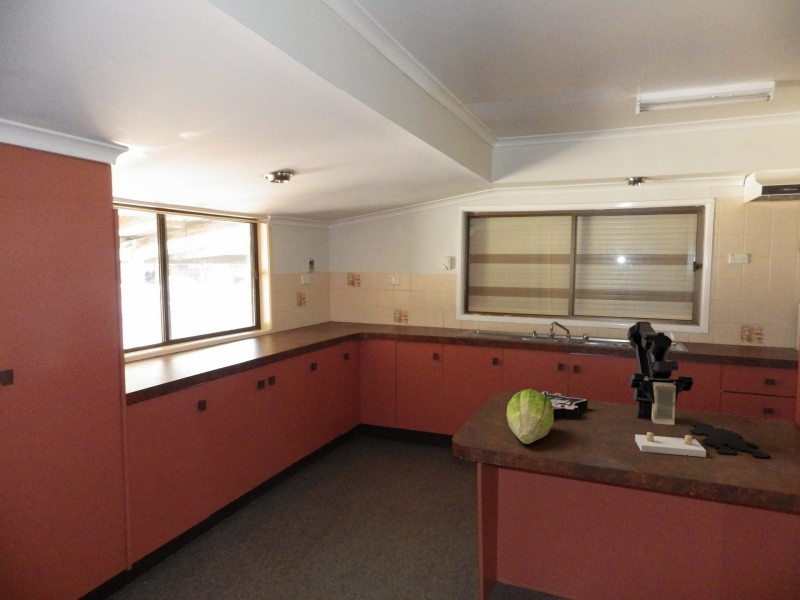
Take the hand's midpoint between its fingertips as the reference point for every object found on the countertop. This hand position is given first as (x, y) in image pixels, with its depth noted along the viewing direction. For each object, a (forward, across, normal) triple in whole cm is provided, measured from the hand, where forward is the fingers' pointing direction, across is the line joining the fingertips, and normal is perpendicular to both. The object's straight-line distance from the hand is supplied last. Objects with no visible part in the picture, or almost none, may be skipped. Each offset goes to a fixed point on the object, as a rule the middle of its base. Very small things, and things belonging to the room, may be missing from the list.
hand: (664, 404), depth 164 cm
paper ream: (+4, 0, +6) cm, 7 cm away
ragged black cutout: (+5, +19, +13) cm, 24 cm away
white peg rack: (+14, 0, +4) cm, 14 cm away
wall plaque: (-8, -36, +27) cm, 46 cm away
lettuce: (+14, -43, +4) cm, 46 cm away
